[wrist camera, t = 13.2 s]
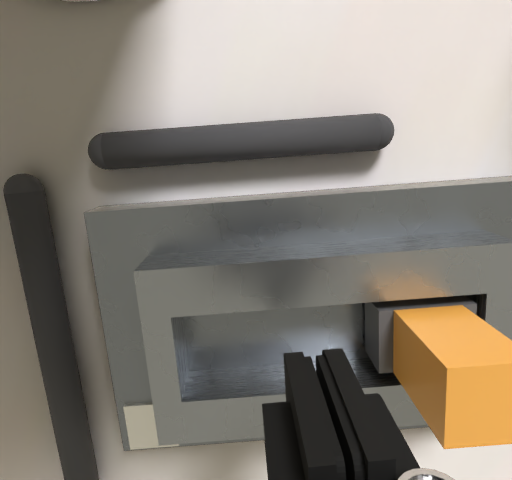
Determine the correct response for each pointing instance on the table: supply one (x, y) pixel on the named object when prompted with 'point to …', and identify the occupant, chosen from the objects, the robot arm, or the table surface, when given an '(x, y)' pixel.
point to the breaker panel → (265, 227)
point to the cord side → (241, 141)
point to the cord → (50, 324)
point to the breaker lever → (446, 366)
